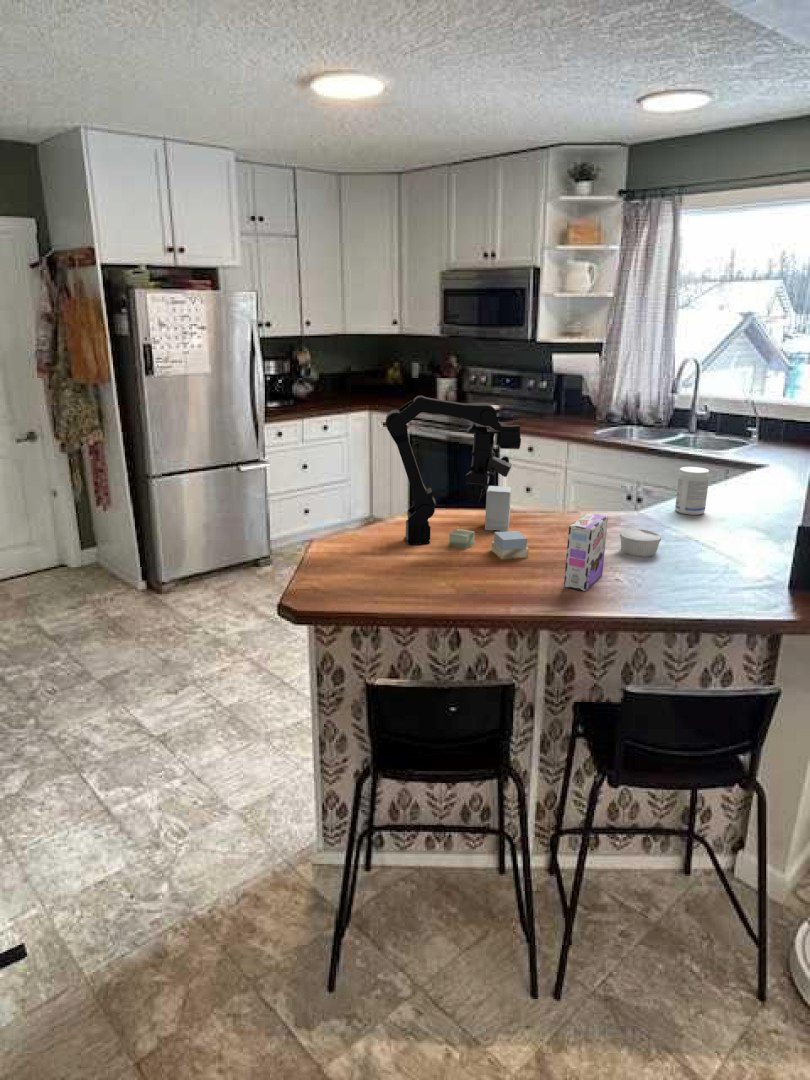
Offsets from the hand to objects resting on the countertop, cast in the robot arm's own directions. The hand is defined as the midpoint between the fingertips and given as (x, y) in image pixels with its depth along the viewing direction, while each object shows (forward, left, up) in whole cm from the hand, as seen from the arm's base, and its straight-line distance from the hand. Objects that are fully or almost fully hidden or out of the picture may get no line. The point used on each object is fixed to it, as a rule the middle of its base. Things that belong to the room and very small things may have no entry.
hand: (479, 500), depth 215 cm
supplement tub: (+81, +15, -13) cm, 83 cm away
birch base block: (+5, -12, -13) cm, 19 cm away
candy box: (+16, -36, -13) cm, 42 cm away
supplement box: (+10, +12, -13) cm, 20 cm away
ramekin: (+42, -18, -13) cm, 48 cm away
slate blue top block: (+5, -13, -10) cm, 17 cm away
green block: (-6, -2, -13) cm, 14 cm away
